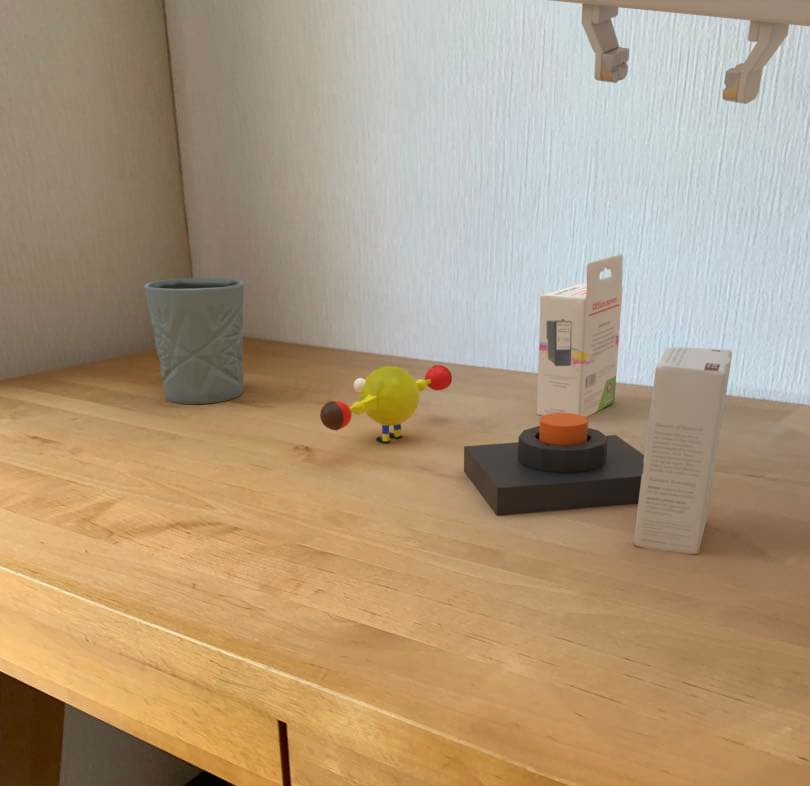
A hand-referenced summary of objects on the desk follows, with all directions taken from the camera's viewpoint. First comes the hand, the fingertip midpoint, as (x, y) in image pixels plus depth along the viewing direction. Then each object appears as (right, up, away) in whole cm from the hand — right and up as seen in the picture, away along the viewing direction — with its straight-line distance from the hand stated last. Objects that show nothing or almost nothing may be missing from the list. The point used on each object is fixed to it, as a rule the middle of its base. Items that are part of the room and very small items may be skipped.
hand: (672, 89), depth 56 cm
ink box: (0, -16, +32) cm, 36 cm away
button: (-5, -22, +10) cm, 24 cm away
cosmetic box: (+1, -29, +2) cm, 29 cm away
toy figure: (-19, -20, +24) cm, 36 cm away
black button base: (-5, -25, +12) cm, 28 cm away
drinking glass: (-39, -13, +41) cm, 58 cm away
